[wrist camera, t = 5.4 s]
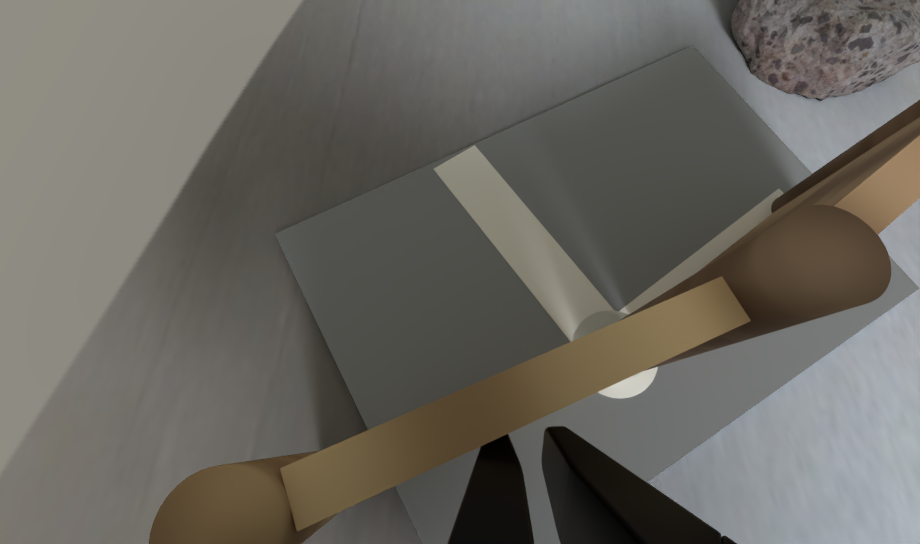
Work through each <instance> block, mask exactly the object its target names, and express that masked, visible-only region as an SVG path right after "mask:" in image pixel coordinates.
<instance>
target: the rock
mask: <svg viewBox="0 0 920 544" xmlns="http://www.w3.org/2000/svg"><path fill="white" fill-rule="evenodd" d="M730 24H731V28H732V33H733V37H734V39H735V41H736V43H737V44H738V46H739V48H740V49H741V51H742V52H743V54H744V56H745V58H746V60H747V61H748V63H749V66H750V72H751V74H753V75H755V76H757V77H758V78H759V80H761V81H763V82H765V83H766V84H768V85H771V86H773V87H775V88H777V89H778V90H782V91H785V92H786V93H789V94H793V93H796V94H799V95H803V96H805V97H807V98H808V99H811V98H817V99H819V100H820V101H822V100H824V99H826V98H828V97H832V96H834V97H838V96H844V95H848V94H850V93H855V92H859V91H861V90H863V89H865V88H867V87H869V86H871V85H872V84H875V83H878V82H881V81H883V80H885V79H887V78H888V77H890V76H892V75H894V74H896V73H897V72H899V71H901V70H902V69H904V68H906V67H907V66H909V65H912V64H914V63H917V62H919V61H920V0H739V2H738V5H737V7H736V8H735V9H734V11H733V13H732V17H731V22H730Z"/></svg>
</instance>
